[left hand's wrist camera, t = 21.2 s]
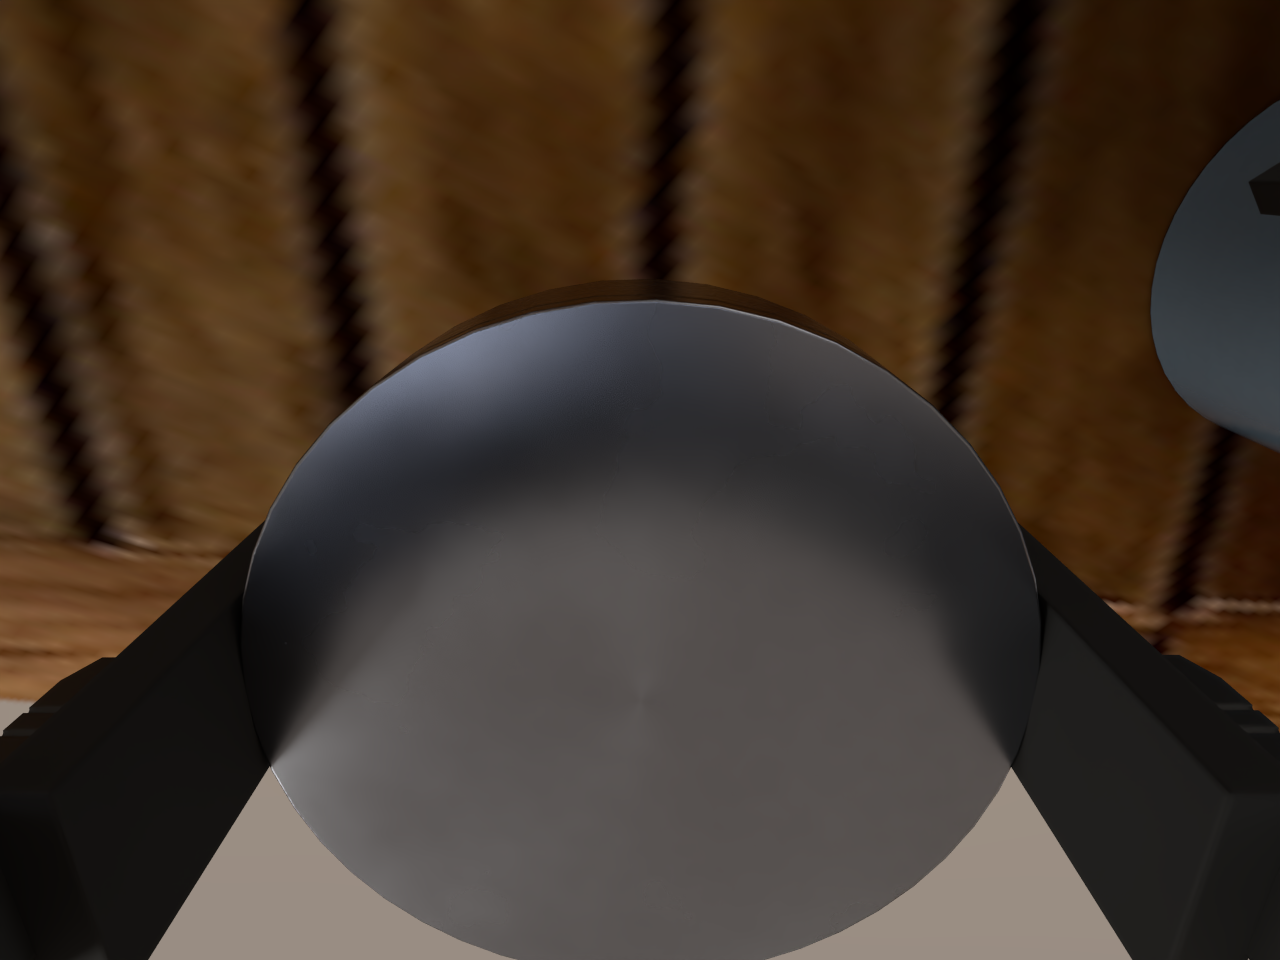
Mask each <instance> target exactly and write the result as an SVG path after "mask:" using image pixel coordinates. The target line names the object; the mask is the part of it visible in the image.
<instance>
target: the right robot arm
mask: <svg viewBox="0 0 1280 960" xmlns="http://www.w3.org/2000/svg"><path fill="white" fill-rule="evenodd" d="M1249 185H1250V188H1251V190H1252V193H1253V196H1254V198H1255V201H1256V203H1257V206H1258V209H1259V211H1260V214H1264V215H1276V216H1280V162H1279V163H1278V164H1276V165H1274V166H1273V167H1271V168H1270V169H1268V170H1266V171H1265V172H1263V173H1262V174H1260V175H1258V176H1257V177H1255V178H1254V179H1252V180H1250V181H1249Z"/></svg>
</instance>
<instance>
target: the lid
mask: <svg viewBox="0 0 1280 960" xmlns="http://www.w3.org/2000/svg"><path fill="white" fill-rule="evenodd" d="M240 650H241V660H242V670H243V678H244V684H245V689H246V693H247V698H248V702H249V706H250V711H251V715H252V719H253V724H254V728H255V732H256V734H257V736H258V739H259V741H260V744H261V746H262V748H263V751H264V753H265V755H266V758H267V760H268V762H269V765H270V767H271V770H272V772H273V773H274V775H275V777H276V778H277V780H278V782H279V784H280V785H281V787H282V788H283V790H284V792H285V794H286V795H287V797H288V799H289V800H290V802H291V804H292V805H293V807H294V808H295V810H296V811H297V812H298V814H299V815H300V816H301V817H302V819H303V820H304V821H305V823H306V824H307V825H308V826H309V828H310V829H311V830H312V831H313V833H314V834H315V835H316V837H317V838H318V839H319V840H320V842H321V843H322V844H323V845H324V846H325V847H326V848H327V849H328V850H329V851H330V852H331V853H332V854H333V855H334V856H335V857H336V858H337V859H338V860H339V861H341V862H342V864H343V865H345V867H346V868H348V869H349V870H350V871H351V872H352V873H353V874H354V875H355V876H357V877H358V878H359V879H361V880H362V881H363V882H364V883H366V884H367V885H368V886H369V887H371V888H372V889H373V890H375V891H376V892H377V893H378V894H380V895H381V896H382V897H383V898H385V899H386V900H388V901H389V902H391V903H393V904H394V905H396V906H398V907H399V908H401V909H402V910H404V911H406V912H407V913H409V914H410V915H412V916H414V917H415V918H417V919H418V920H420V921H422V922H424V923H426V924H428V925H430V926H432V927H434V928H436V929H438V930H440V931H442V932H444V933H446V934H448V935H450V936H452V937H455V938H457V939H459V940H461V941H464V942H466V943H469V944H472V945H474V946H477V947H480V948H483V949H485V950H488V951H491V952H493V953H496V954H499V955H502V956H506V957H509V958H513V959H517V960H765V959H769V958H772V957H775V956H778V955H781V954H785V953H788V952H791V951H795V950H798V949H801V948H803V947H805V946H808V945H810V944H813V943H815V942H817V941H820V940H822V939H824V938H827V937H829V936H832V935H834V934H836V933H839V932H841V931H843V930H844V929H846V928H848V927H850V926H852V925H854V924H855V923H857V922H859V921H861V920H863V919H864V918H866V917H868V916H870V915H872V914H874V913H875V912H877V911H879V910H880V909H882V908H883V907H885V906H886V905H887V904H889V903H890V902H892V901H893V900H895V899H896V898H897V897H899V896H900V895H902V894H903V893H905V892H906V891H908V890H909V889H910V888H912V887H913V886H915V885H916V884H917V883H918V882H919V881H920V880H921V879H922V878H924V877H925V876H926V875H927V874H928V873H929V872H930V871H932V870H933V869H934V868H935V867H936V866H937V865H938V864H939V863H941V862H942V861H943V860H944V859H945V858H946V857H947V856H948V855H949V854H950V853H951V852H952V851H953V849H954V848H955V847H956V846H957V845H958V844H959V843H960V842H961V840H962V839H963V838H964V837H965V836H966V835H967V834H968V833H969V832H970V830H971V829H972V828H973V827H974V826H975V825H976V823H977V822H978V820H979V819H980V817H981V816H982V814H983V813H984V812H985V810H986V809H987V807H988V806H989V804H990V803H991V801H992V800H993V798H994V797H995V796H996V794H997V793H998V791H999V789H1000V787H1001V786H1002V783H1003V781H1004V780H1005V778H1006V776H1007V774H1008V772H1009V770H1010V768H1011V766H1012V764H1013V762H1014V760H1015V758H1016V756H1017V754H1018V752H1019V749H1020V746H1021V743H1022V740H1023V737H1024V734H1025V732H1026V728H1027V724H1028V720H1029V716H1030V712H1031V707H1032V703H1033V698H1034V693H1035V688H1036V684H1037V679H1038V674H1039V669H1040V660H1041V616H1040V608H1039V601H1038V593H1037V586H1036V578H1035V574H1034V571H1033V567H1032V564H1031V561H1030V557H1029V554H1028V551H1027V547H1026V544H1025V541H1024V537H1023V534H1022V531H1021V529H1020V527H1019V525H1018V523H1017V521H1016V518H1015V516H1014V514H1013V512H1012V510H1011V508H1010V506H1009V504H1008V502H1007V500H1006V498H1005V496H1004V494H1003V492H1002V490H1001V488H1000V486H999V484H998V483H997V482H996V480H995V479H994V477H993V476H992V474H991V473H990V472H989V470H988V469H987V467H986V466H985V464H984V463H983V462H982V460H981V459H980V457H979V456H978V454H977V453H976V452H975V450H974V449H973V447H972V446H971V444H970V443H969V442H968V441H967V440H966V439H965V438H964V437H963V436H962V435H961V434H960V433H959V432H958V431H957V430H956V429H955V428H954V427H953V426H952V424H951V423H950V422H949V421H948V420H947V419H946V418H945V417H944V416H943V415H942V414H941V413H940V412H939V411H938V410H937V409H936V408H935V407H934V406H933V405H932V404H931V403H930V402H928V401H927V400H926V399H925V398H923V397H922V396H921V395H919V394H918V393H917V392H916V391H914V390H913V389H912V388H910V387H909V386H908V385H907V384H905V383H904V382H903V381H902V380H900V379H899V378H898V377H896V376H895V375H894V374H893V373H891V372H890V371H889V370H887V369H886V368H885V367H884V366H882V365H881V364H880V363H878V362H877V361H876V360H874V359H873V358H872V357H871V356H869V355H868V354H867V353H865V352H864V351H863V350H861V349H860V348H859V347H858V346H856V345H855V344H854V343H852V342H851V341H850V340H848V339H847V338H845V337H843V336H841V335H839V334H838V333H836V332H834V331H832V330H831V329H829V328H827V327H825V326H823V325H822V324H820V323H818V322H816V321H815V320H813V319H811V318H809V317H807V316H806V315H803V314H801V313H798V312H796V311H793V310H791V309H788V308H785V307H783V306H780V305H778V304H775V303H773V302H770V301H768V300H765V299H763V298H760V297H757V296H753V295H749V294H745V293H741V292H737V291H732V290H728V289H724V288H720V287H716V286H712V285H707V284H699V283H689V282H679V281H669V280H659V279H639V280H608V281H597V282H591V283H585V284H579V285H573V286H567V287H561V288H555V289H550V290H546V291H543V292H540V293H537V294H534V295H530V296H527V297H524V298H521V299H518V300H514V301H511V302H508V303H505V304H502V305H499V306H497V307H495V308H493V309H491V310H488V311H486V312H484V313H482V314H480V315H478V316H476V317H474V318H471V319H469V320H467V321H465V322H463V323H461V324H459V325H457V326H455V327H453V328H451V329H450V330H448V331H447V332H445V333H444V334H442V335H441V336H439V337H438V338H436V339H435V340H433V341H432V342H430V343H429V344H427V345H426V346H424V347H423V348H421V349H420V350H418V351H417V352H415V353H414V354H412V355H411V356H410V357H408V358H407V359H406V360H404V361H403V362H402V363H401V364H399V365H398V366H397V367H396V368H394V369H393V370H392V371H390V372H389V373H388V374H387V375H385V376H384V377H383V378H381V379H380V380H379V381H378V382H376V383H375V384H374V385H372V386H371V387H370V388H369V389H368V390H367V391H366V392H364V393H363V394H362V395H361V396H360V397H359V398H358V399H357V400H355V401H354V402H353V403H352V404H351V405H350V406H349V407H348V408H346V409H345V410H344V411H343V412H342V413H341V414H340V415H339V416H337V417H336V418H335V419H334V420H333V421H332V422H331V423H330V424H329V425H328V426H327V427H326V429H325V430H324V431H323V432H322V433H321V435H320V436H319V437H318V438H317V439H316V441H315V442H314V443H313V444H312V446H311V447H310V448H309V449H308V450H307V452H306V453H305V454H304V455H303V456H302V458H301V459H300V460H299V461H298V462H297V464H296V465H295V467H294V469H293V470H292V472H291V474H290V475H289V477H288V479H287V480H286V482H285V484H284V485H283V487H282V489H281V491H280V492H279V494H278V496H277V497H276V499H275V501H274V502H273V504H272V506H271V507H270V510H269V512H268V515H267V517H266V520H265V523H264V525H263V528H262V530H261V533H260V535H259V538H258V540H257V543H256V545H255V548H254V550H253V553H252V558H251V562H250V567H249V571H248V576H247V581H246V585H245V590H244V594H243V600H242V618H241V636H240Z"/></svg>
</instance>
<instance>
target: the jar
mask: <svg viewBox="0 0 1280 960" xmlns="http://www.w3.org/2000/svg"><path fill="white" fill-rule="evenodd" d="M1279 162H1280V100H1279V101H1277V102H1275V103H1274V104H1272V105H1271V106H1270V107H1268V108H1267V109H1266V110H1264V111H1263V112H1262V113H1260V114H1259V115H1258V116H1256V117H1255V118H1254V119H1253V120H1251V121H1250V122H1249V123H1247V124H1246V125H1245V126H1244V127H1243V128H1242V129H1241V130H1240V131H1239V132H1238V133H1237V134H1236V135H1234V136H1233V137H1232V138H1231V139H1230V140H1229V141H1228V142H1227V143H1226V144H1225V145H1224V146H1223V147H1222V148H1221V150H1220V151H1219V152H1218V153H1217V154H1216V155H1215V156H1214V157H1213V159H1212V160H1211V161H1210V162H1209V163H1208V164H1207V165H1206V167H1205V168H1204V169H1203V171H1202V172H1201V174H1200V175H1199V176H1198V178H1197V179H1196V181H1195V182H1194V183H1193V185H1192V186H1191V188H1190V189H1189V190H1188V192H1187V194H1186V196H1185V197H1184V199H1183V201H1182V203H1181V204H1180V206H1179V208H1178V210H1177V211H1176V213H1175V215H1174V217H1173V220H1172V222H1171V224H1170V226H1169V229H1168V231H1167V233H1166V235H1165V238H1164V240H1163V243H1162V247H1161V250H1160V253H1159V256H1158V259H1157V263H1156V267H1155V272H1154V278H1153V283H1152V290H1151V308H1150V314H1151V326H1152V335H1153V339H1154V343H1155V348H1156V352H1157V355H1158V358H1159V360H1160V363H1161V365H1162V367H1163V370H1164V372H1165V374H1166V376H1167V377H1168V379H1169V381H1170V382H1171V384H1172V385H1173V387H1174V389H1175V390H1176V392H1177V393H1178V394H1179V395H1180V396H1181V397H1182V398H1183V399H1184V400H1185V402H1186V403H1187V404H1188V405H1189V406H1190V407H1192V408H1193V409H1194V410H1195V411H1197V412H1198V413H1199V414H1200V415H1202V416H1203V417H1204V418H1206V419H1208V420H1210V421H1212V422H1213V423H1215V424H1217V425H1219V426H1221V427H1223V428H1225V429H1227V430H1229V431H1231V432H1234V433H1236V434H1238V435H1240V436H1242V437H1245V438H1247V439H1249V440H1251V441H1253V442H1256V443H1258V444H1260V445H1262V446H1264V447H1267V448H1269V449H1271V450H1273V451H1275V452H1278V453H1280V216H1276V215H1264V214H1260V211H1259V209H1258V206H1257V203H1256V201H1255V198H1254V196H1253V193H1252V190H1251V188H1250V185H1249V181H1250V180H1252V179H1254V178H1255V177H1257V176H1258V175H1260V174H1262V173H1263V172H1265V171H1266V170H1268V169H1270V168H1271V167H1273V166H1274V165H1276V164H1278V163H1279Z"/></svg>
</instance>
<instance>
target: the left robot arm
mask: <svg viewBox="0 0 1280 960" xmlns="http://www.w3.org/2000/svg"><path fill="white" fill-rule="evenodd" d="M264 523H265V521H264V522H263V523H262V524H261V525H260V526H258V527H257V528H256V529H255V530H254V531H253V532H252V533H251V534H250V535H249V536H248V537H246V538H245V539H244V540H243V541H242V542H241V543H240V544H239V545H238V546H237V547H236V548H234V549H233V550H232V551H231V552H230V553H229V554H228V555H227V556H226V557H225V558H224V559H222V560H221V561H220V562H219V563H218V564H217V565H216V566H215V567H214V568H213V569H212V570H210V571H209V572H208V573H207V574H206V575H205V576H204V577H203V578H202V579H201V580H200V581H198V582H197V583H196V584H195V585H194V586H193V587H192V588H191V589H190V590H189V591H188V592H186V593H185V594H184V595H183V596H182V597H181V598H180V599H179V600H178V601H177V602H176V603H174V604H173V605H172V606H171V607H170V608H169V609H168V610H167V611H166V612H165V613H164V614H163V615H161V616H160V617H159V618H158V619H157V620H156V621H155V622H154V623H153V624H152V625H151V626H149V627H148V628H147V629H146V630H145V631H144V632H143V633H142V634H141V635H140V636H139V637H137V638H136V639H135V640H134V641H133V642H132V643H131V644H130V645H129V646H128V647H127V648H125V649H124V650H123V651H122V652H121V653H120V654H119V655H118V656H117V657H116V658H101V659H99V660H97V661H95V662H93V663H92V664H90V665H88V666H86V667H84V668H82V669H81V670H79V671H77V672H75V673H73V674H72V675H70V676H68V677H66V678H64V679H62V680H61V681H59V682H58V683H57V684H56V685H55V686H54V687H53V688H51V689H50V690H49V691H48V692H47V693H46V694H45V695H43V696H42V697H41V698H40V699H39V700H38V701H36V702H35V703H34V704H33V705H32V706H31V707H30V708H29V709H30V710H29V713H23V714H22V715H20V716H19V717H18V718H17V719H16V720H15V721H13V722H12V723H11V724H10V725H9V726H8V727H7V728H5V729H4V730H3V735H2V736H0V960H148V959H149V958H150V956H151V954H152V953H153V951H154V950H155V948H156V946H157V945H158V943H159V942H160V940H161V938H162V937H163V935H164V934H165V932H166V930H167V929H168V927H169V926H170V924H171V923H172V921H173V919H174V918H175V916H176V915H177V913H178V911H179V910H180V908H181V907H182V905H183V903H184V902H185V900H186V899H187V897H188V895H189V894H190V892H191V891H192V889H193V887H194V886H195V884H196V883H197V881H198V880H199V878H200V876H201V875H202V873H203V871H204V870H205V868H206V867H207V865H208V864H209V862H210V860H211V859H212V857H213V855H214V854H215V852H216V851H217V849H218V848H219V846H220V844H221V843H222V841H223V840H224V838H225V837H226V835H227V833H228V832H229V830H230V829H231V827H232V825H233V824H234V822H235V821H236V819H237V817H238V816H239V814H240V813H241V811H242V809H243V808H244V806H245V805H246V803H247V801H248V800H249V798H250V797H251V795H252V793H253V792H254V790H255V789H256V787H257V786H258V784H259V782H260V781H261V779H262V778H263V776H264V774H265V773H266V771H267V769H268V768H269V766H270V765H269V762H268V760H267V758H266V755H265V753H264V751H263V748H262V746H261V744H260V741H259V739H258V736H257V734H256V732H255V728H254V724H253V719H252V715H251V711H250V706H249V702H248V698H247V693H246V689H245V684H244V678H243V670H242V660H241V650H240V636H241V618H242V600H243V594H244V590H245V585H246V581H247V576H248V571H249V567H250V562H251V558H252V553H253V550H254V548H255V545H256V543H257V540H258V538H259V535H260V533H261V530H262V528H263V525H264ZM1017 523H1018V522H1017ZM1018 525H1019V527H1020V529H1021V531H1022V534H1023V537H1024V541H1025V544H1026V547H1027V551H1028V554H1029V557H1030V561H1031V564H1032V567H1033V571H1034V574H1035V578H1036V586H1037V593H1038V601H1039V608H1040V616H1041V660H1040V669H1039V674H1038V679H1037V684H1036V688H1035V693H1034V698H1033V703H1032V707H1031V712H1030V716H1029V720H1028V724H1027V728H1026V732H1025V734H1024V737H1023V740H1022V743H1021V746H1020V749H1019V752H1018V754H1017V756H1016V758H1015V760H1014V762H1013V764H1012V766H1011V767H1012V769H1013V770H1014V772H1015V774H1016V775H1017V777H1018V778H1019V780H1020V782H1021V783H1022V785H1023V786H1024V788H1025V790H1026V791H1027V793H1028V794H1029V796H1030V797H1031V799H1032V801H1033V802H1034V804H1035V805H1036V807H1037V809H1038V810H1039V812H1040V813H1041V815H1042V817H1043V818H1044V820H1045V821H1046V823H1047V824H1048V826H1049V828H1050V829H1051V831H1052V832H1053V834H1054V836H1055V837H1056V839H1057V840H1058V842H1059V844H1060V845H1061V847H1062V848H1063V850H1064V852H1065V853H1066V855H1067V856H1068V858H1069V860H1070V861H1071V863H1072V864H1073V866H1074V868H1075V869H1076V871H1077V872H1078V874H1079V875H1080V877H1081V879H1082V880H1083V882H1084V883H1085V885H1086V887H1087V888H1088V890H1089V891H1090V893H1091V895H1092V896H1093V898H1094V899H1095V901H1096V903H1097V904H1098V906H1099V907H1100V909H1101V911H1102V912H1103V914H1104V915H1105V917H1106V919H1107V920H1108V922H1109V923H1110V925H1111V926H1112V928H1113V930H1114V931H1115V933H1116V934H1117V936H1118V938H1119V939H1120V941H1121V942H1122V944H1123V946H1124V947H1125V949H1126V950H1127V952H1128V954H1129V955H1130V957H1131V958H1132V960H1248V958H1249V960H1280V733H1279V730H1278V729H1279V728H1278V727H1277V726H1276V725H1275V724H1274V723H1273V722H1271V721H1270V720H1269V719H1268V718H1267V717H1266V716H1264V715H1263V714H1262V713H1261V712H1260V711H1259V710H1253V708H1252V704H1251V703H1249V702H1248V701H1247V700H1246V699H1245V698H1244V697H1242V696H1241V695H1240V694H1239V693H1238V692H1237V691H1235V690H1234V689H1233V688H1232V687H1231V686H1230V685H1229V684H1227V683H1226V682H1225V681H1224V680H1223V679H1222V678H1220V677H1218V676H1216V675H1215V674H1213V673H1211V672H1209V671H1207V670H1205V669H1204V668H1202V667H1200V666H1198V665H1196V664H1195V663H1193V662H1191V661H1189V660H1187V659H1185V658H1184V657H1182V656H1180V655H1162V654H1161V653H1159V652H1158V651H1157V650H1156V649H1155V648H1154V647H1153V646H1152V645H1151V644H1150V643H1149V642H1147V641H1146V640H1145V639H1144V638H1143V637H1142V636H1141V635H1140V634H1139V633H1138V632H1137V631H1135V630H1134V629H1133V628H1132V627H1131V626H1130V625H1129V624H1128V623H1127V622H1126V621H1125V620H1123V619H1122V618H1121V617H1120V616H1119V615H1118V614H1117V613H1116V612H1115V611H1114V610H1113V609H1111V608H1110V607H1109V606H1108V605H1107V604H1106V603H1105V602H1104V601H1103V600H1102V599H1101V598H1099V597H1098V596H1097V595H1096V594H1095V593H1094V592H1093V591H1092V590H1091V589H1090V588H1089V587H1087V586H1086V585H1085V584H1084V583H1083V582H1082V581H1081V580H1080V579H1079V578H1078V577H1077V576H1076V575H1074V574H1073V573H1072V572H1071V571H1070V570H1069V569H1068V568H1067V567H1066V566H1065V565H1064V564H1062V563H1061V562H1060V561H1059V560H1058V559H1057V558H1056V557H1055V556H1054V555H1053V554H1052V553H1050V552H1049V551H1048V550H1047V549H1046V548H1045V547H1044V546H1043V545H1042V544H1041V543H1040V542H1038V541H1037V540H1036V539H1035V538H1034V537H1033V536H1032V535H1031V534H1030V533H1029V532H1028V531H1026V530H1025V529H1024V528H1023V527H1022V526H1021V525H1020V524H1019V523H1018Z"/></svg>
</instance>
